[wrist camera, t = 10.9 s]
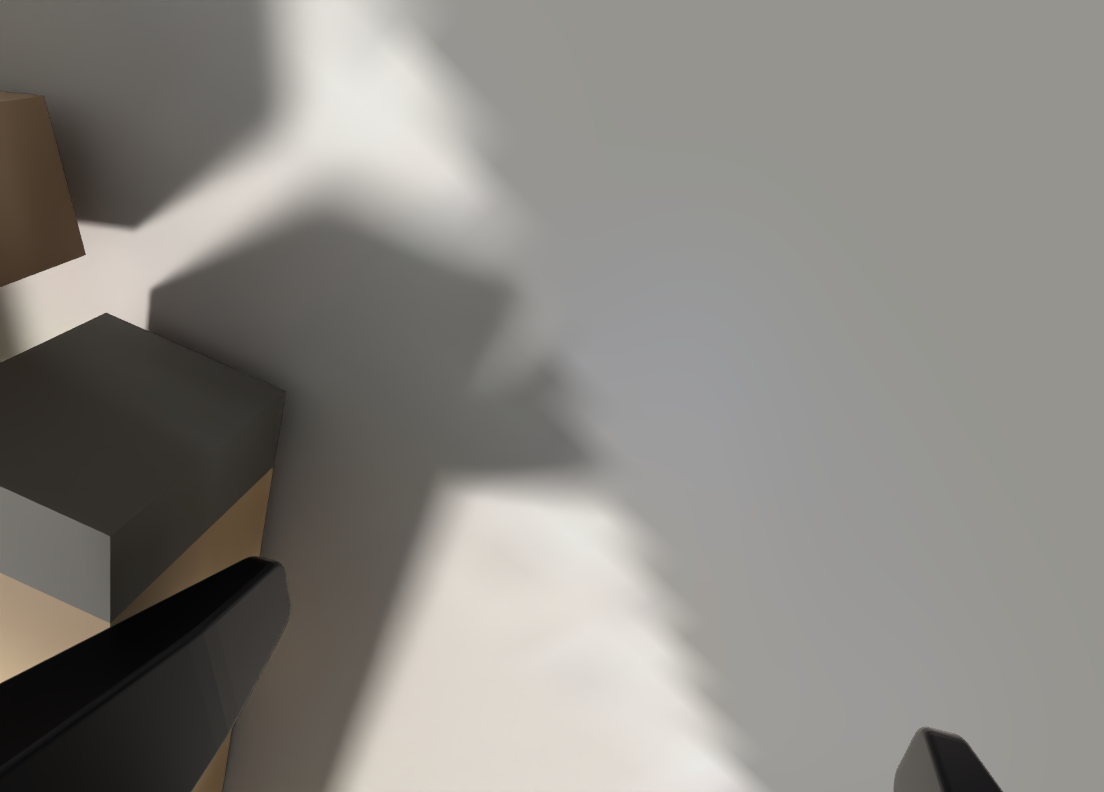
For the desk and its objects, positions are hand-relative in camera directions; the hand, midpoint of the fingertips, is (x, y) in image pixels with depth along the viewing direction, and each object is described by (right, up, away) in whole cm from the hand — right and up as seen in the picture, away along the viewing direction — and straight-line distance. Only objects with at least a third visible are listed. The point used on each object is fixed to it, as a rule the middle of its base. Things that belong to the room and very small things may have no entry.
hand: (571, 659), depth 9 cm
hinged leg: (-8, -3, +6) cm, 11 cm away
